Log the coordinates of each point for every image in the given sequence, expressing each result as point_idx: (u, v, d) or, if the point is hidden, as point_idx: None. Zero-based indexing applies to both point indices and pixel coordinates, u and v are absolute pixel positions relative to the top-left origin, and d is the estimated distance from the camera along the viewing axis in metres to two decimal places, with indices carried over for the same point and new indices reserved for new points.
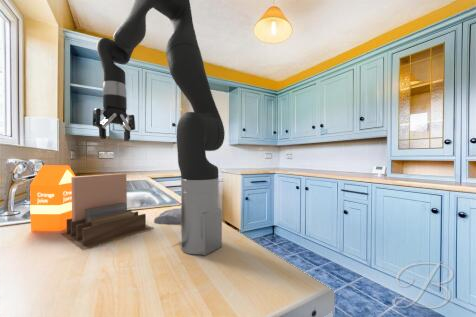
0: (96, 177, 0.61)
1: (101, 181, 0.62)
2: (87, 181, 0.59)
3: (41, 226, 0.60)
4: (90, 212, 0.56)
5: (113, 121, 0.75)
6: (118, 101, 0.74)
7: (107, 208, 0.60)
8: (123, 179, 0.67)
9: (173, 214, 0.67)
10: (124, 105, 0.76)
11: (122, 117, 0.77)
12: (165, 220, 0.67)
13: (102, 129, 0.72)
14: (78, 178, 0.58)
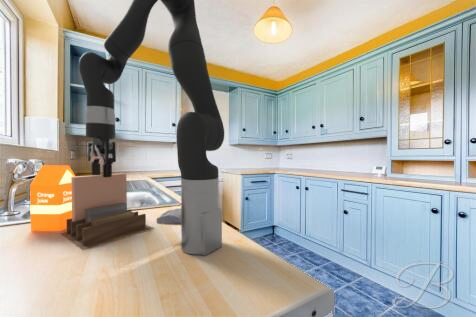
0: (96, 177, 0.61)
1: (101, 181, 0.62)
2: (87, 181, 0.59)
3: (41, 226, 0.60)
4: (90, 212, 0.56)
5: None
6: None
7: (107, 208, 0.60)
8: (123, 179, 0.67)
9: (175, 214, 0.67)
10: None
11: None
12: (167, 220, 0.67)
13: None
14: (78, 178, 0.58)
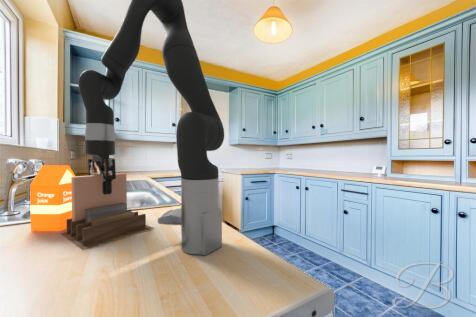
0: (96, 177, 0.61)
1: (101, 181, 0.62)
2: (87, 181, 0.59)
3: (41, 226, 0.60)
4: (90, 212, 0.56)
5: None
6: None
7: (107, 208, 0.60)
8: (123, 179, 0.67)
9: (177, 214, 0.67)
10: None
11: None
12: (169, 220, 0.67)
13: None
14: (78, 178, 0.58)
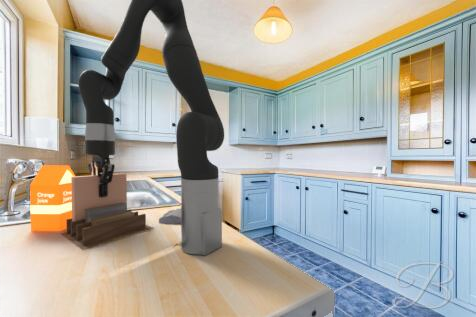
0: (96, 177, 0.61)
1: None
2: (87, 181, 0.59)
3: (41, 226, 0.60)
4: (90, 212, 0.56)
5: None
6: None
7: (107, 208, 0.60)
8: (123, 179, 0.67)
9: (178, 214, 0.67)
10: None
11: None
12: (170, 220, 0.67)
13: None
14: (78, 178, 0.58)
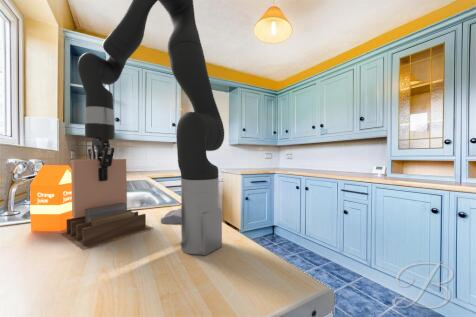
0: (96, 161, 0.61)
1: None
2: (87, 164, 0.59)
3: (41, 226, 0.60)
4: (90, 212, 0.56)
5: None
6: None
7: (107, 208, 0.60)
8: (123, 164, 0.67)
9: (180, 214, 0.67)
10: None
11: None
12: (172, 220, 0.67)
13: None
14: (78, 161, 0.58)
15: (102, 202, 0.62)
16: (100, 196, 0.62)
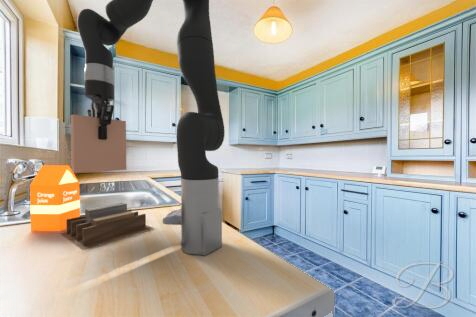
0: (95, 119, 0.61)
1: None
2: (86, 121, 0.59)
3: (41, 226, 0.60)
4: (90, 212, 0.56)
5: None
6: None
7: (107, 208, 0.60)
8: (122, 126, 0.67)
9: None
10: None
11: None
12: (174, 220, 0.67)
13: None
14: (77, 116, 0.57)
15: (101, 161, 0.62)
16: (100, 154, 0.62)
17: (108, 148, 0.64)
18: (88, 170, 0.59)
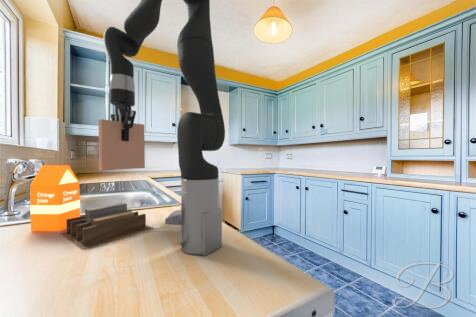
0: (119, 123, 0.69)
1: None
2: (112, 125, 0.67)
3: (41, 226, 0.60)
4: (90, 212, 0.56)
5: None
6: None
7: (107, 208, 0.60)
8: (141, 129, 0.75)
9: None
10: None
11: None
12: (176, 220, 0.67)
13: None
14: (105, 121, 0.66)
15: (124, 160, 0.71)
16: (123, 154, 0.70)
17: (129, 149, 0.72)
18: (113, 168, 0.68)
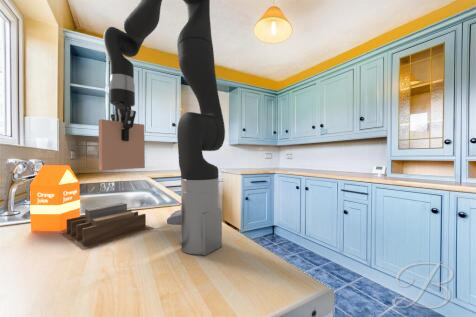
0: (119, 123, 0.69)
1: None
2: (112, 125, 0.67)
3: (41, 226, 0.60)
4: (90, 212, 0.56)
5: None
6: None
7: (107, 208, 0.60)
8: (141, 129, 0.75)
9: None
10: None
11: None
12: (178, 220, 0.67)
13: None
14: (105, 121, 0.66)
15: (124, 160, 0.71)
16: (123, 154, 0.70)
17: (129, 149, 0.72)
18: (113, 168, 0.68)
